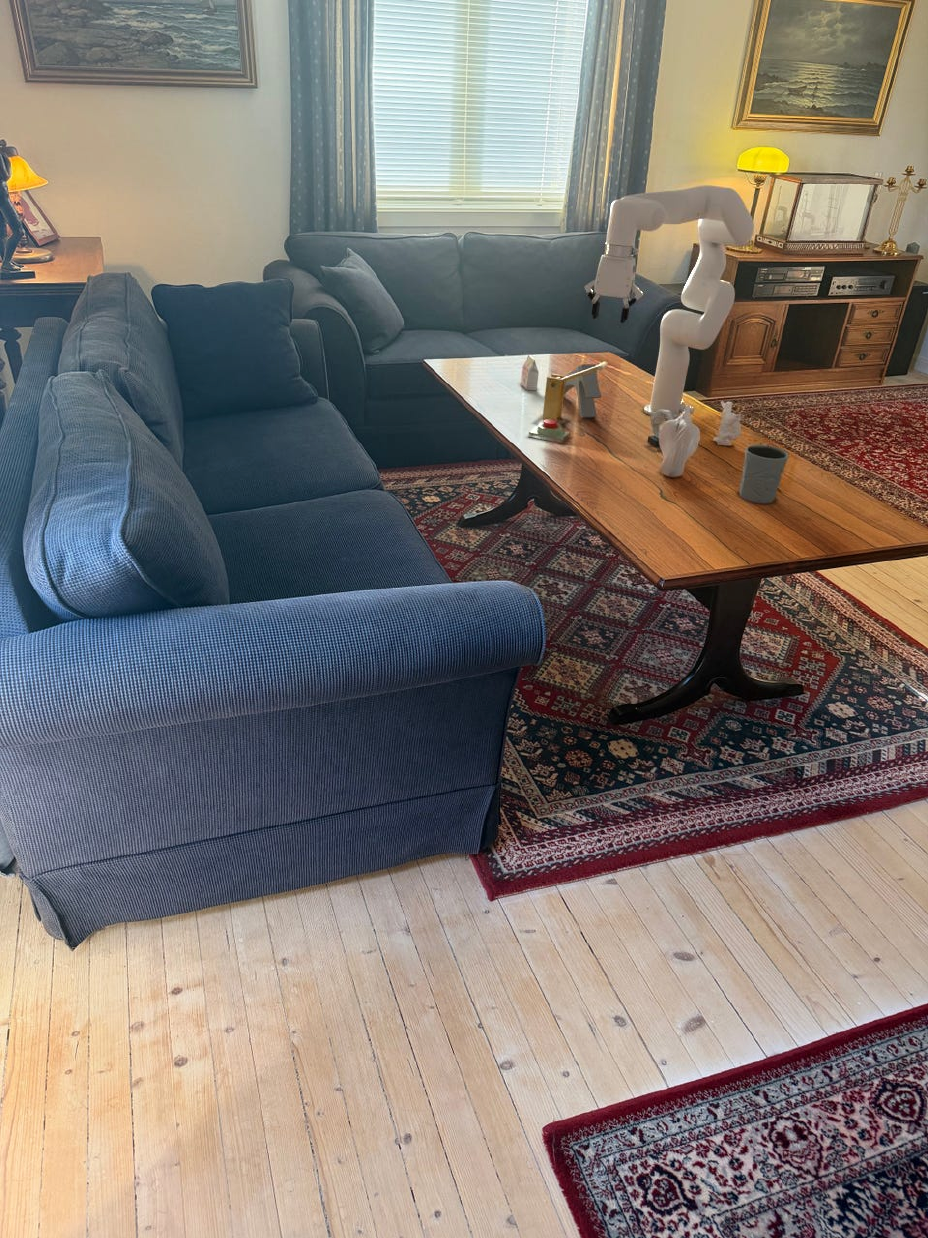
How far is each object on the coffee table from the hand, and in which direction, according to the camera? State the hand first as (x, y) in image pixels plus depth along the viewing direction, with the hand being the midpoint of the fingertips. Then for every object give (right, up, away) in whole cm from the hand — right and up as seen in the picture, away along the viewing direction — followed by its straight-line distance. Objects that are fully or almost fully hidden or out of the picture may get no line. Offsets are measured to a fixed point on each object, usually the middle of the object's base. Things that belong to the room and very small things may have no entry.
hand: (609, 319), depth 232 cm
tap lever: (-7, -13, +11) cm, 19 cm away
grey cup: (+34, -53, -21) cm, 66 cm away
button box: (-16, -31, +8) cm, 36 cm away
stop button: (-16, -28, +7) cm, 33 cm away
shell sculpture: (+15, -45, -11) cm, 49 cm away
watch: (+15, -35, +6) cm, 38 cm away
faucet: (-6, -17, +34) cm, 38 cm away
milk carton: (-18, -5, +52) cm, 55 cm away
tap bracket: (-14, -24, +21) cm, 34 cm away
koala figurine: (+36, -32, +13) cm, 50 cm away
